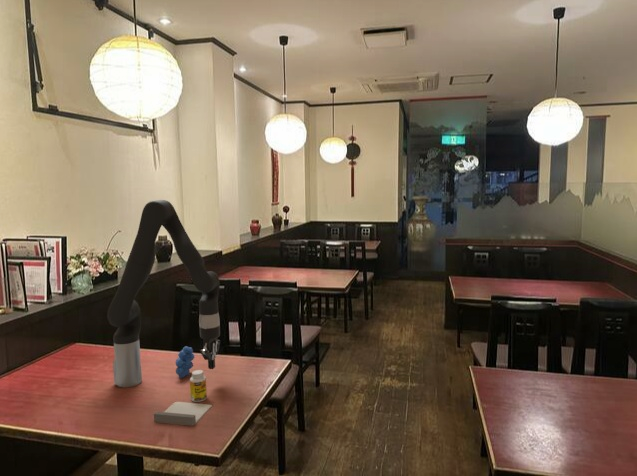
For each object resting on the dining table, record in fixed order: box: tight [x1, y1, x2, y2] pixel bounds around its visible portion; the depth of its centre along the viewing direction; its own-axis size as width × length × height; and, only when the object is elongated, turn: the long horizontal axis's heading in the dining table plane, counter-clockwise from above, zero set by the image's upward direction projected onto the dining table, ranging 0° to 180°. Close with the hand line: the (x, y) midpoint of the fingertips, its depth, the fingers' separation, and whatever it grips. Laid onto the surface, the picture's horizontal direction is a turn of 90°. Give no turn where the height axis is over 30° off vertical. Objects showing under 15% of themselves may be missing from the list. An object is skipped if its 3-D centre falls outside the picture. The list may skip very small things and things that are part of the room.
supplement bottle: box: [189, 369, 207, 403], centre depth 162 cm, size 6×6×10 cm
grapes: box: [175, 345, 195, 379], centre depth 183 cm, size 12×7×12 cm, turn 164°
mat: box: [153, 401, 213, 427], centre depth 152 cm, size 14×13×3 cm
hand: (211, 368), depth 172 cm, fingers closed
